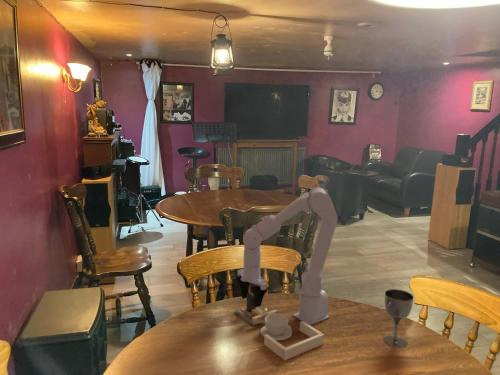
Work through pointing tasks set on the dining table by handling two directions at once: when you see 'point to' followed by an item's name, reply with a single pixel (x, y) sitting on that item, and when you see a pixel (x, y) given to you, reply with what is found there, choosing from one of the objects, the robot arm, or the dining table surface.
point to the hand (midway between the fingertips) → (251, 301)
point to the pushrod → (255, 311)
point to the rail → (246, 315)
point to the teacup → (276, 327)
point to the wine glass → (397, 313)
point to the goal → (297, 348)
